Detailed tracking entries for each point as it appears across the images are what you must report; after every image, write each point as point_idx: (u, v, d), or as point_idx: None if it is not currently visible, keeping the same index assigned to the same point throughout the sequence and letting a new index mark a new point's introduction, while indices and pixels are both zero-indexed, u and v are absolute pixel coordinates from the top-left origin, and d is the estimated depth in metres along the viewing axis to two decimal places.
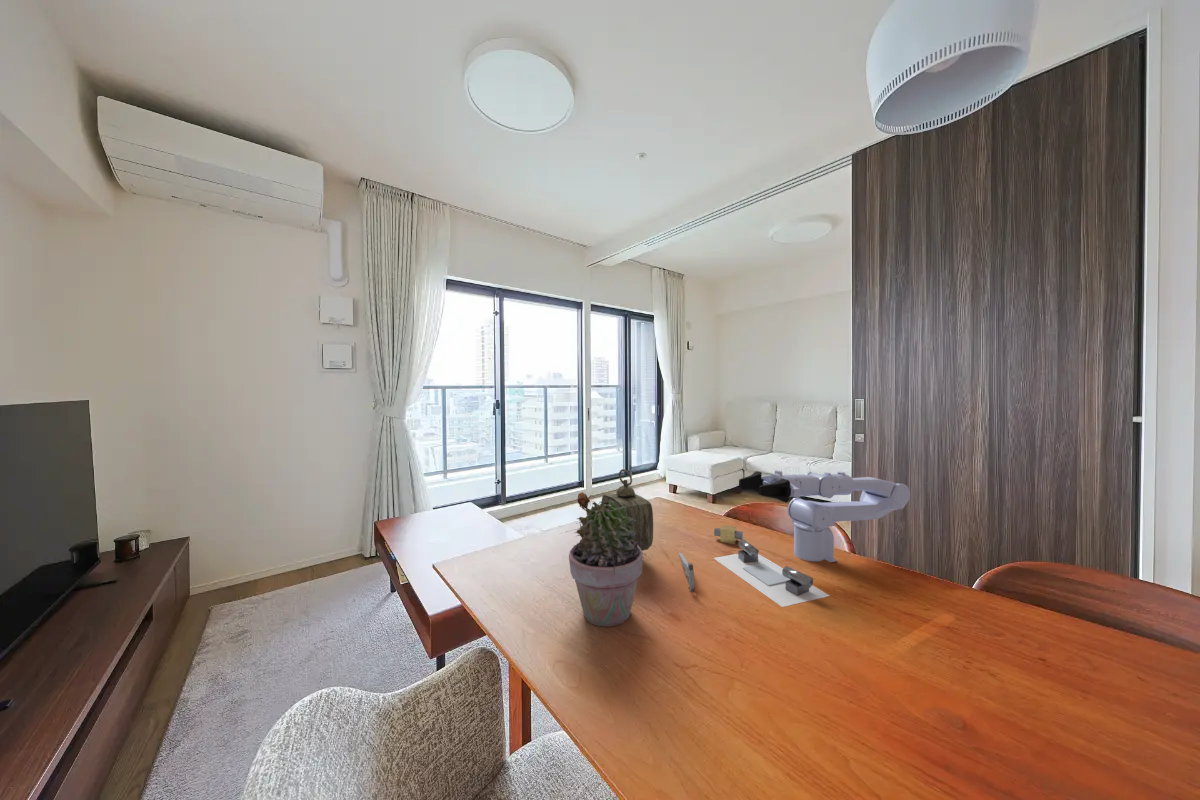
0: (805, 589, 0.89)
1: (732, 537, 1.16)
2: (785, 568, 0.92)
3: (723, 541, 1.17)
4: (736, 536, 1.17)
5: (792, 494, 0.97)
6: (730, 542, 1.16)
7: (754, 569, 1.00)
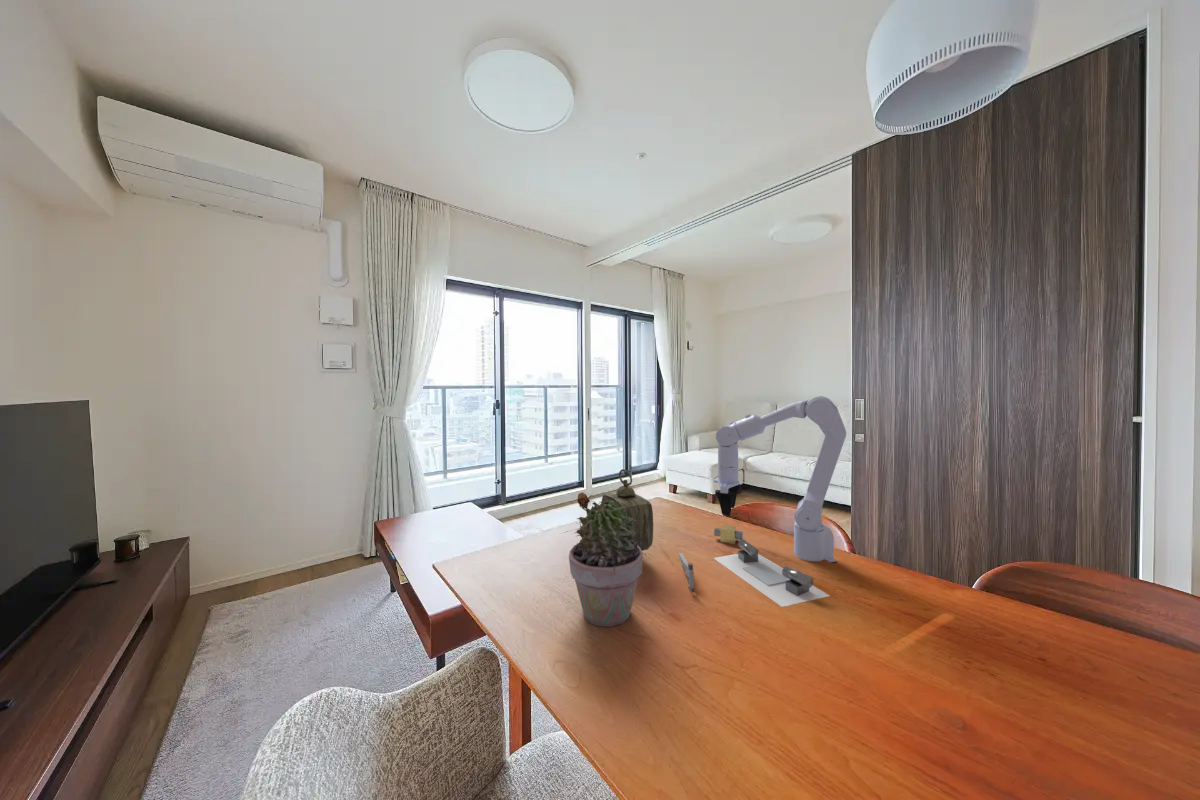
0: (805, 589, 0.89)
1: (732, 537, 1.16)
2: (785, 568, 0.92)
3: (723, 541, 1.17)
4: (736, 536, 1.17)
5: None
6: (730, 542, 1.16)
7: (754, 569, 1.00)
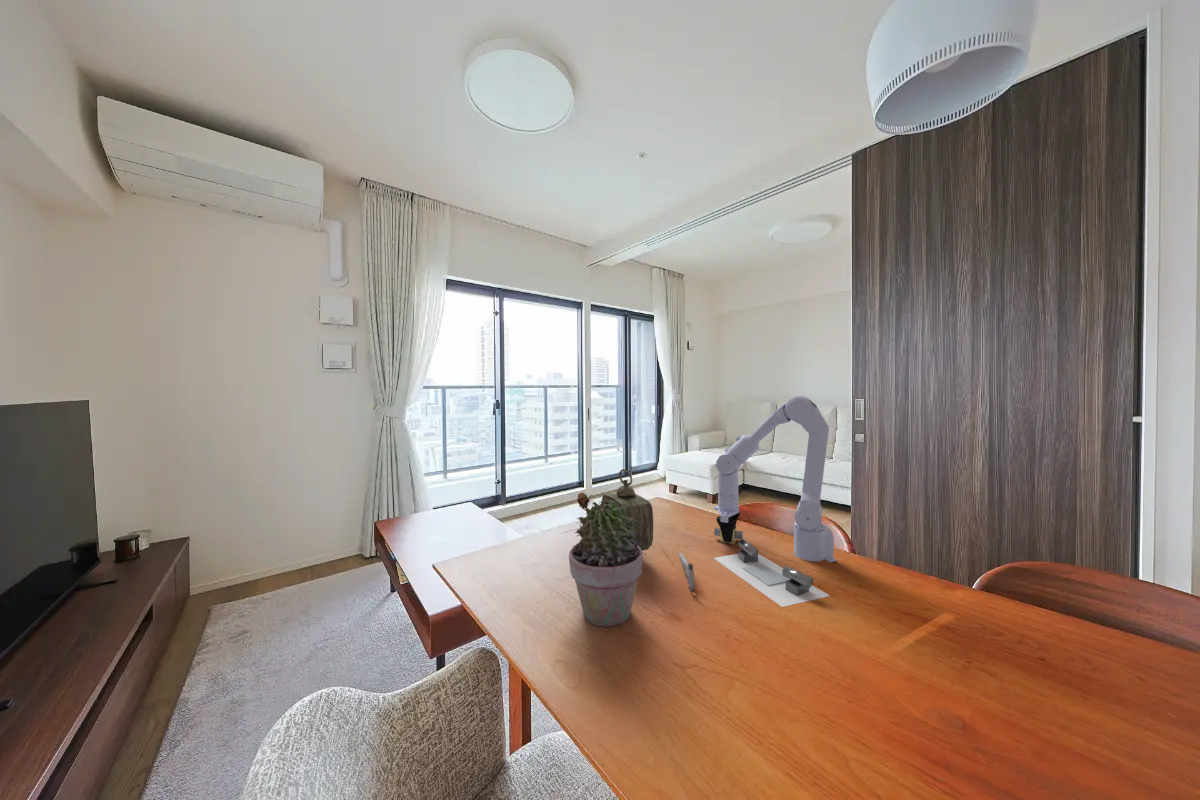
0: (805, 589, 0.89)
1: (732, 537, 1.16)
2: (785, 568, 0.92)
3: (723, 541, 1.17)
4: (736, 536, 1.17)
5: None
6: (730, 542, 1.16)
7: (754, 569, 1.00)
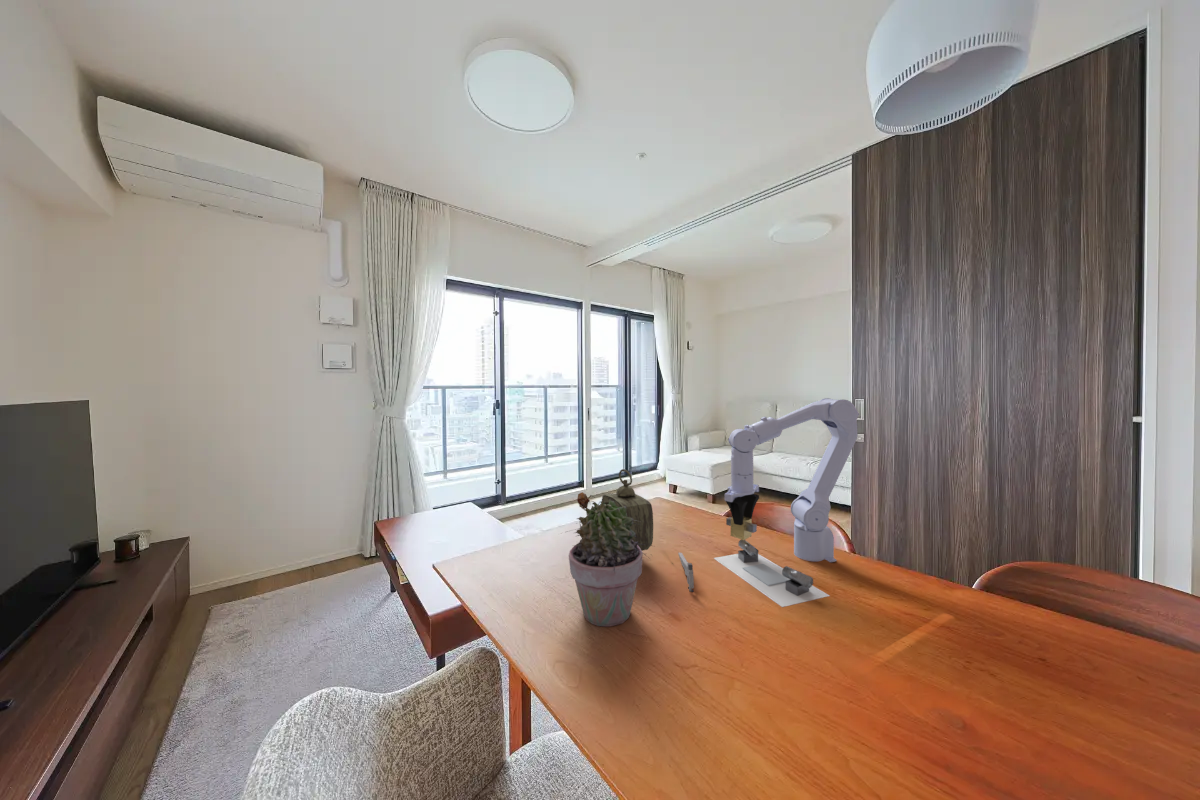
0: (805, 589, 0.89)
1: (742, 528, 1.07)
2: (785, 568, 0.92)
3: (733, 531, 1.09)
4: (747, 528, 1.07)
5: None
6: (740, 533, 1.07)
7: (754, 569, 1.00)
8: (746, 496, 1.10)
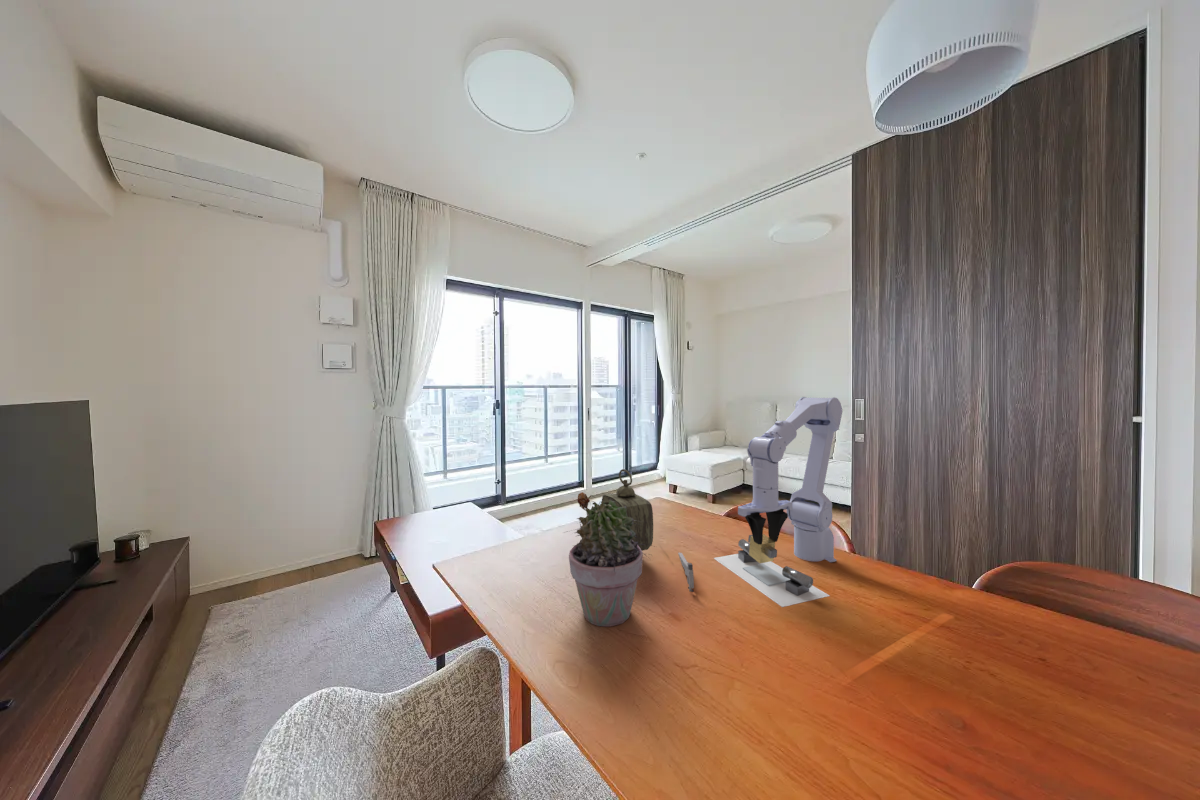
0: (805, 589, 0.89)
1: (759, 551, 0.96)
2: (785, 568, 0.92)
3: (751, 551, 0.99)
4: (765, 551, 0.96)
5: None
6: (757, 555, 0.97)
7: (754, 569, 1.00)
8: (772, 513, 0.97)
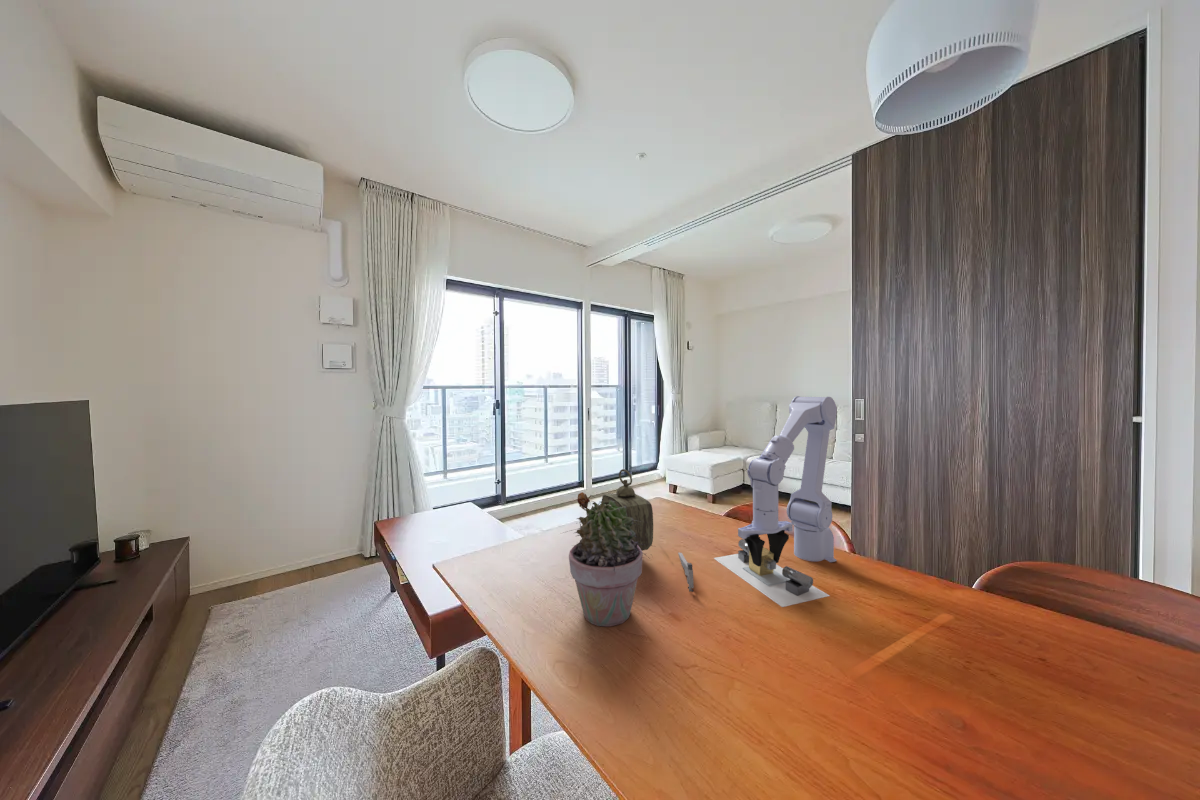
0: (805, 589, 0.89)
1: None
2: (785, 568, 0.92)
3: (751, 564, 0.99)
4: (765, 563, 0.96)
5: None
6: (756, 568, 0.97)
7: None
8: (773, 534, 0.98)
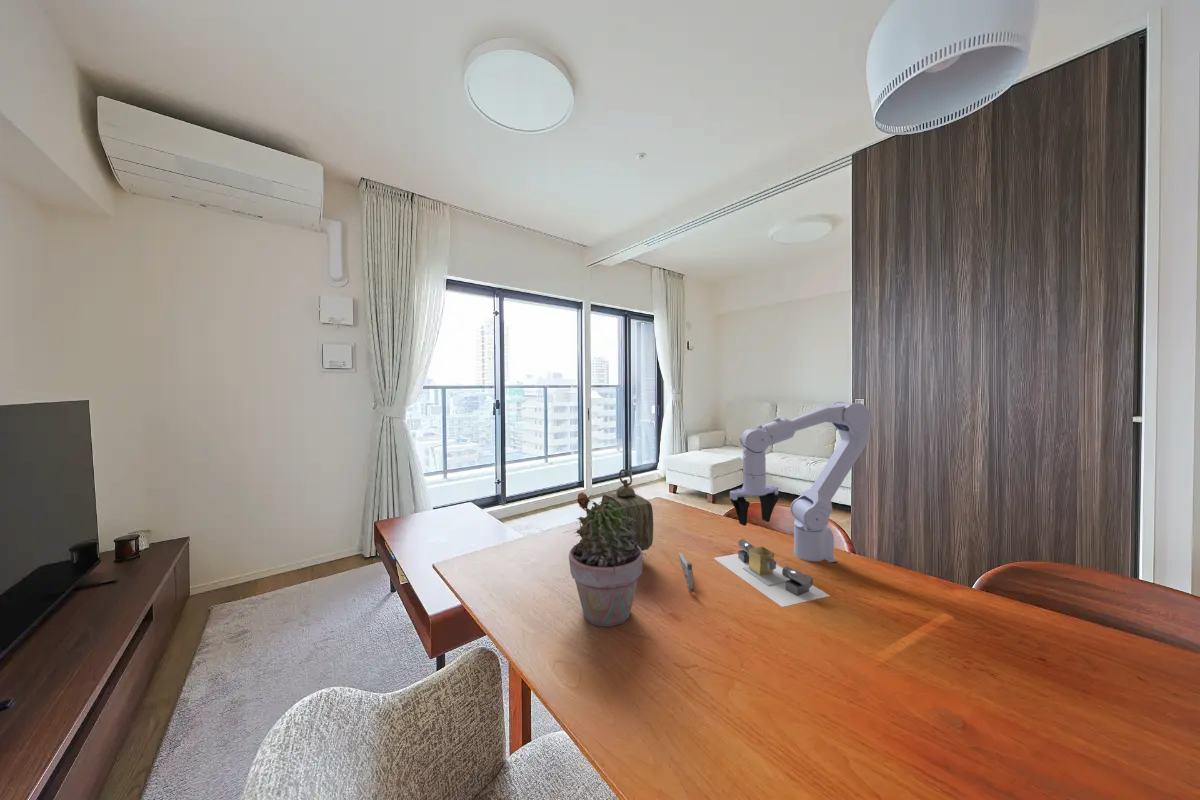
0: (805, 589, 0.89)
1: (758, 563, 0.96)
2: (785, 568, 0.92)
3: (751, 564, 0.99)
4: (765, 563, 0.96)
5: None
6: (756, 568, 0.97)
7: None
8: (765, 496, 1.09)
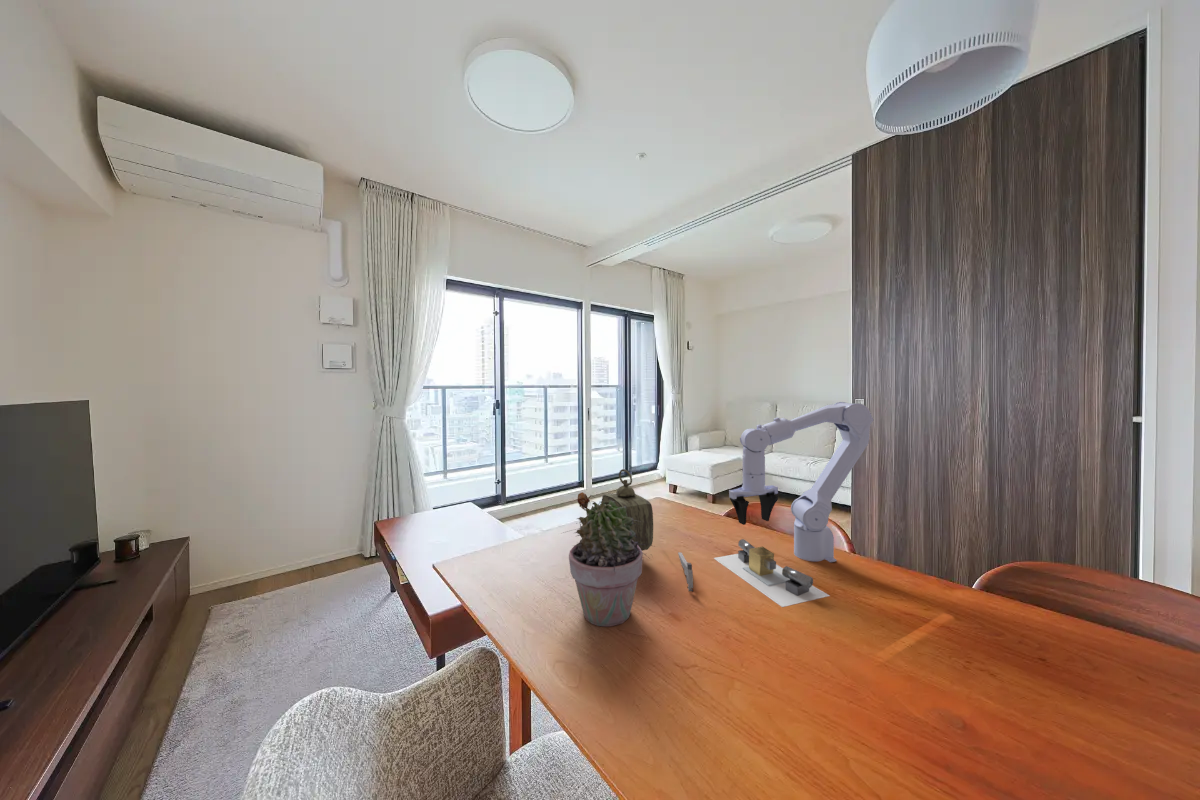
0: (805, 589, 0.89)
1: (758, 563, 0.96)
2: (785, 568, 0.92)
3: (751, 564, 0.99)
4: (765, 563, 0.96)
5: None
6: (756, 568, 0.97)
7: None
8: (764, 496, 1.10)
